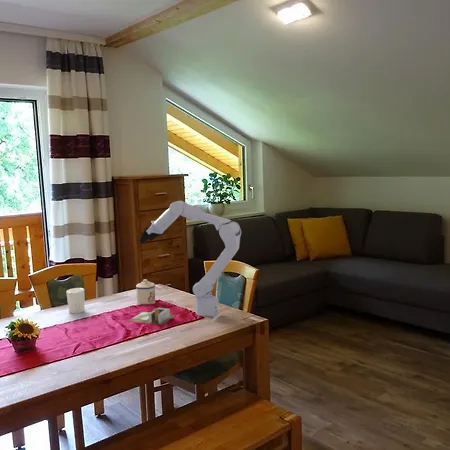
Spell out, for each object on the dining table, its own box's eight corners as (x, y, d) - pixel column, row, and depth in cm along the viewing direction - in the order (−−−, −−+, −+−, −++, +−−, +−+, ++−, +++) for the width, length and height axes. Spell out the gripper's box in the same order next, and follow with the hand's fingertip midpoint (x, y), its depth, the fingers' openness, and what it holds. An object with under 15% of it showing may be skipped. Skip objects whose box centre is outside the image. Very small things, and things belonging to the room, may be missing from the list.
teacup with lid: (151, 306, 230) (150, 282, 229) (133, 305, 233) (132, 281, 231) (161, 299, 242) (160, 276, 240) (143, 298, 244) (142, 275, 243)
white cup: (88, 308, 230) (86, 287, 229) (81, 314, 223) (80, 292, 221) (72, 308, 231) (70, 287, 230) (65, 314, 223) (63, 292, 222)
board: (176, 316, 215) (175, 302, 214) (162, 327, 203) (161, 311, 202) (144, 313, 221) (143, 299, 220) (128, 323, 209) (127, 308, 208)
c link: (158, 316, 213) (157, 307, 212) (169, 317, 211) (169, 308, 210) (149, 322, 205) (148, 313, 205) (161, 324, 203) (160, 314, 203)
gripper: (166, 212, 223) (147, 231, 228) (150, 216, 210) (131, 236, 215) (176, 224, 223) (157, 242, 228) (161, 229, 209) (141, 248, 214)
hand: (145, 240), depth 221 cm, fingers open, 7 cm apart
